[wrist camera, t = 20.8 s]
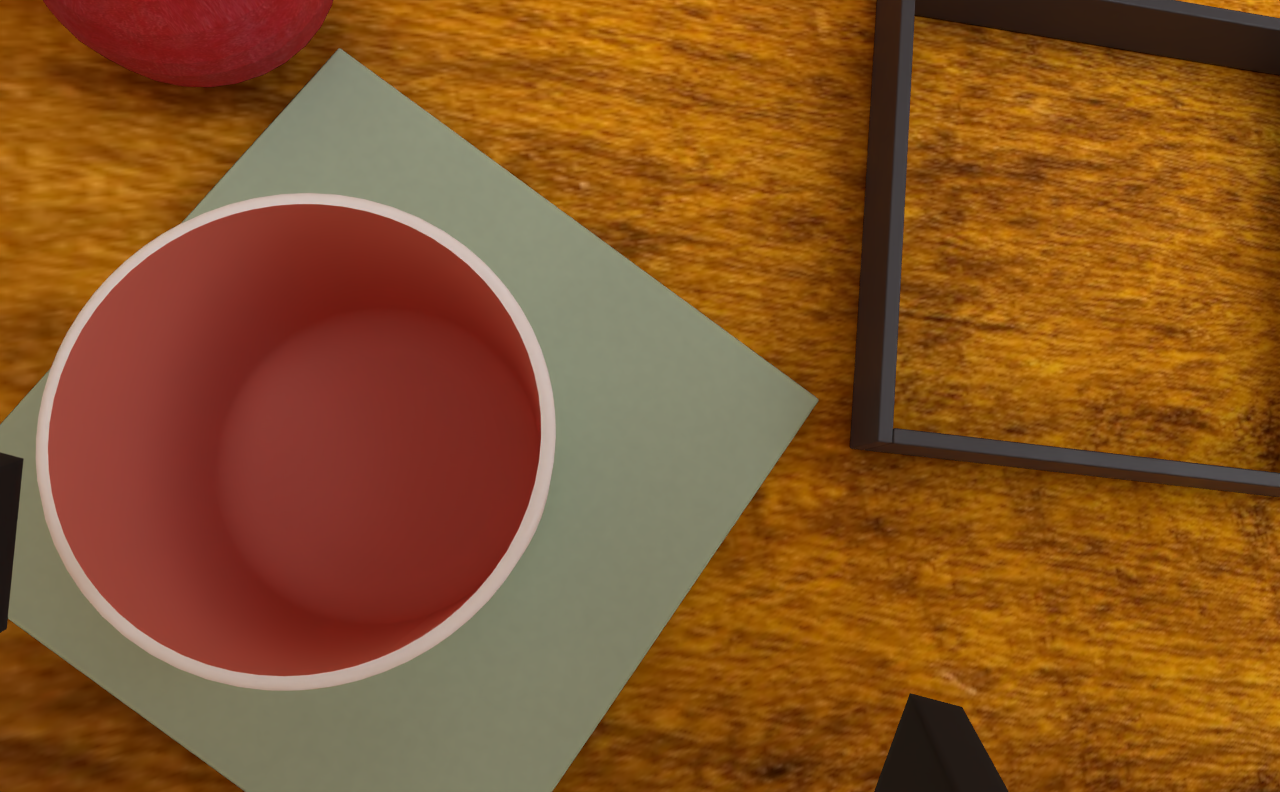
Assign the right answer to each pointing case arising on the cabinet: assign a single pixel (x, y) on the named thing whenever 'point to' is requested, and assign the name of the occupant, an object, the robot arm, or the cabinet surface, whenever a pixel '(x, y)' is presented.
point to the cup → (295, 441)
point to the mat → (573, 514)
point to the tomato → (194, 35)
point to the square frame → (1029, 3)
